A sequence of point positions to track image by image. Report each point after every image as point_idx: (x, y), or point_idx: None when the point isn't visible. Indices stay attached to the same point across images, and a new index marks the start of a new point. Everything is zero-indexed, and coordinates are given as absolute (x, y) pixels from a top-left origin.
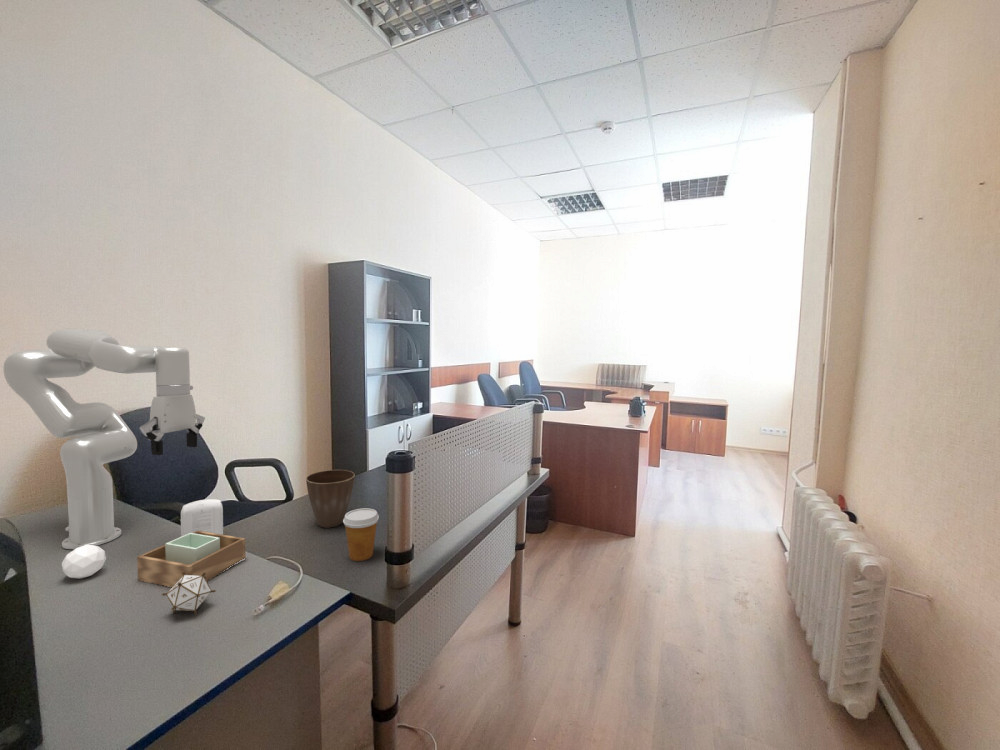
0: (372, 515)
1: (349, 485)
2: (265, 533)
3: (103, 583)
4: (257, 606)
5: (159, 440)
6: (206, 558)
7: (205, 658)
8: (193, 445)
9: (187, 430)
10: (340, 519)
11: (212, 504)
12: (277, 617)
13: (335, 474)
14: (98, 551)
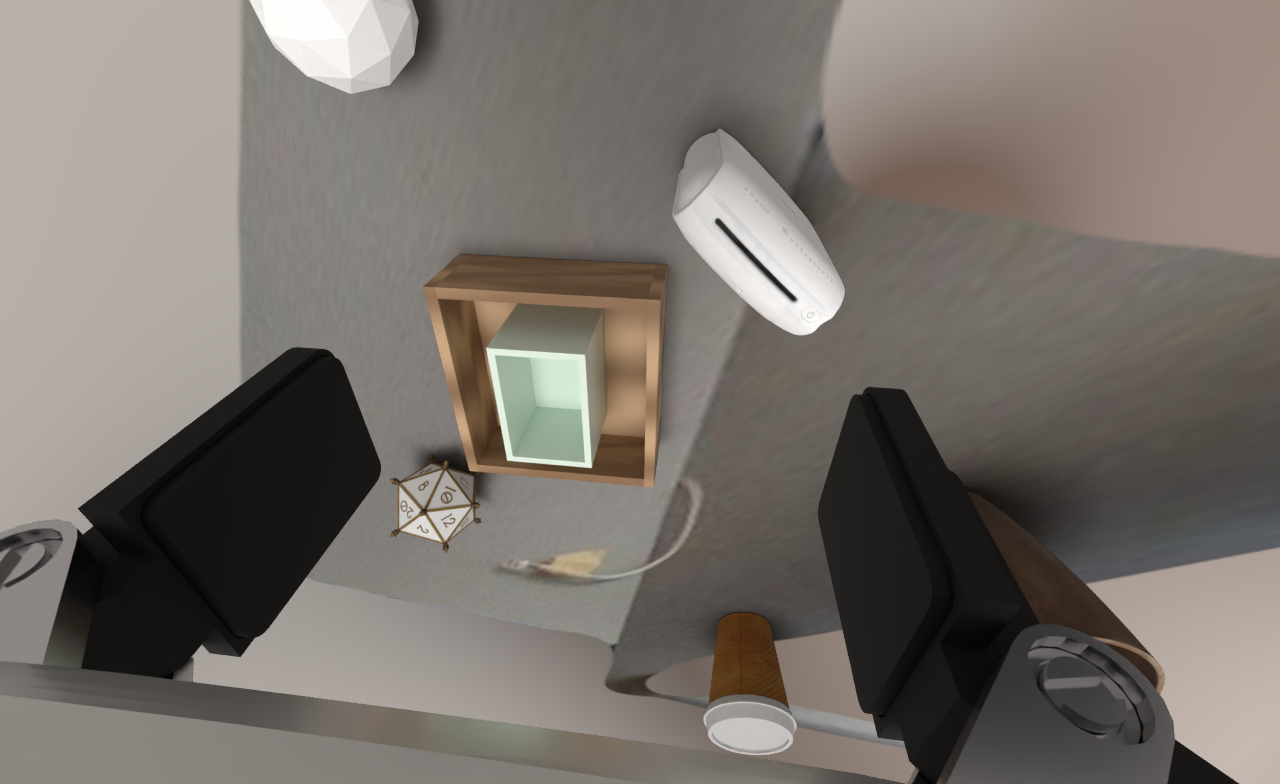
0: (753, 746)
1: None
2: (845, 380)
3: (395, 160)
4: (520, 558)
5: (207, 627)
6: (520, 474)
7: (402, 563)
8: (823, 517)
9: (973, 719)
10: None
11: (769, 319)
12: (513, 593)
13: (1138, 662)
14: (353, 74)
